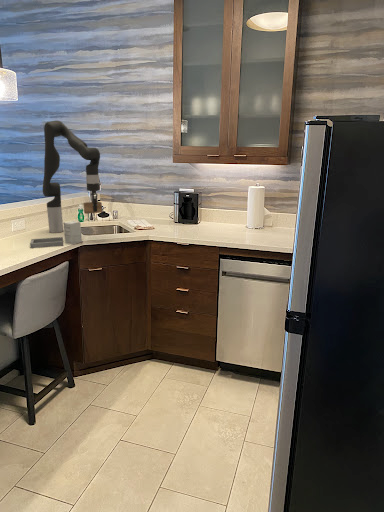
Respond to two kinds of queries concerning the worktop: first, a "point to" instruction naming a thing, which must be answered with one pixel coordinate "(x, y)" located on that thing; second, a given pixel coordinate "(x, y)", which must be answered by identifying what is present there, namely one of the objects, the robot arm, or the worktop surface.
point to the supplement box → (72, 232)
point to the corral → (46, 242)
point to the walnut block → (89, 207)
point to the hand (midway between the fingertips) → (94, 210)
